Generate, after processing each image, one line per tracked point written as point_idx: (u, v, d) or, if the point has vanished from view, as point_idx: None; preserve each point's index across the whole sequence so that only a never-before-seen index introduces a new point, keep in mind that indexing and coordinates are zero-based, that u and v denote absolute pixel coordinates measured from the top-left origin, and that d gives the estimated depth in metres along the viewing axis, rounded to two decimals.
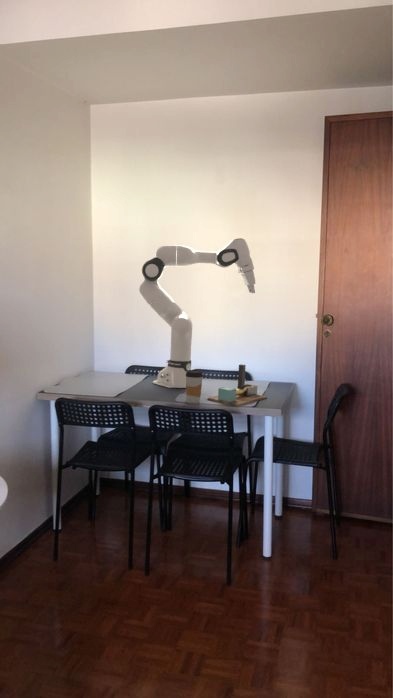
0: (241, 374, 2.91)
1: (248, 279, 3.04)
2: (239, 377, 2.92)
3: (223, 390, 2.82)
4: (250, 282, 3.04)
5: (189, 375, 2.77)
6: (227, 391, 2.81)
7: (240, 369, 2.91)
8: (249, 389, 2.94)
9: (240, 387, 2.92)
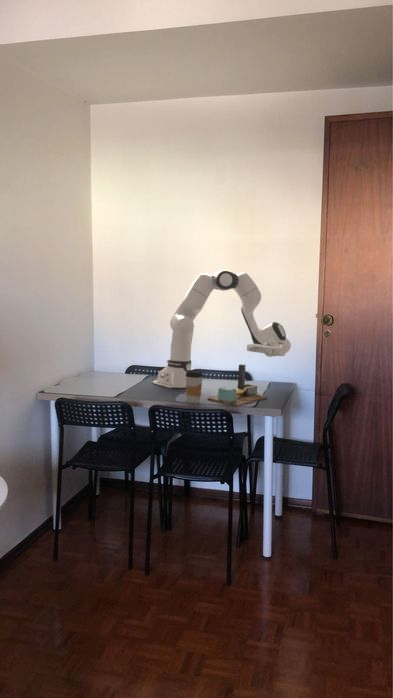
0: (241, 374, 2.91)
1: (282, 348, 3.02)
2: (239, 377, 2.92)
3: (223, 390, 2.82)
4: (280, 350, 3.00)
5: (189, 375, 2.77)
6: (227, 391, 2.81)
7: (240, 369, 2.91)
8: (249, 389, 2.94)
9: (240, 387, 2.92)
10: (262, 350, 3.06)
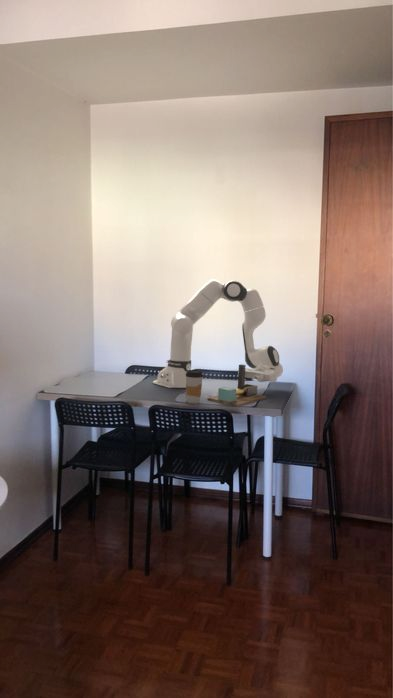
0: (241, 374, 2.91)
1: (273, 374, 2.98)
2: (239, 377, 2.92)
3: (223, 390, 2.82)
4: (271, 376, 2.97)
5: (189, 375, 2.77)
6: (227, 391, 2.81)
7: (240, 369, 2.91)
8: (249, 389, 2.94)
9: (240, 387, 2.92)
10: (253, 375, 3.02)
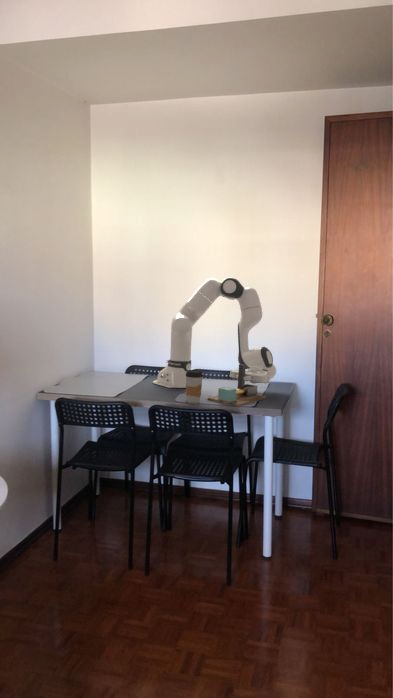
0: (241, 374, 2.91)
1: (266, 376, 2.92)
2: (239, 377, 2.92)
3: (223, 390, 2.82)
4: (264, 378, 2.91)
5: (189, 375, 2.77)
6: (227, 391, 2.81)
7: (240, 369, 2.91)
8: (249, 389, 2.94)
9: (240, 387, 2.92)
10: None
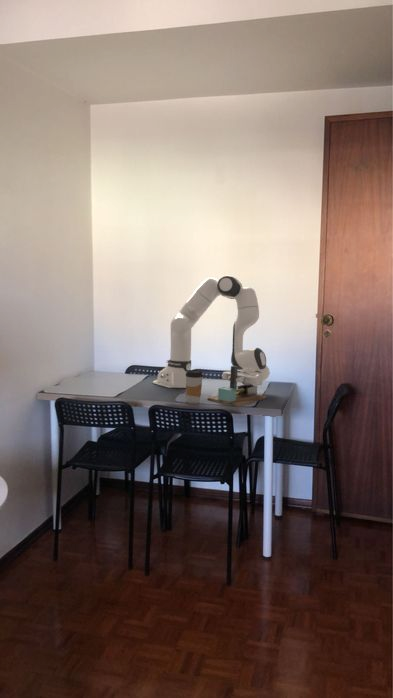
0: (233, 376, 2.86)
1: (258, 378, 2.87)
2: (231, 379, 2.87)
3: (223, 390, 2.82)
4: (256, 379, 2.85)
5: (189, 375, 2.77)
6: (227, 391, 2.81)
7: (232, 371, 2.86)
8: (249, 389, 2.94)
9: None
10: None
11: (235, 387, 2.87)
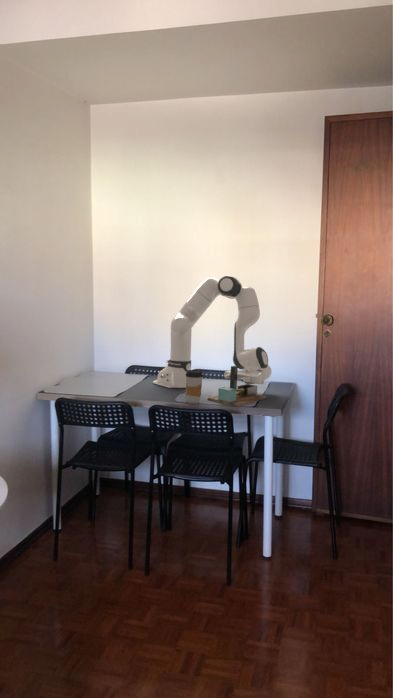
0: (233, 376, 2.86)
1: (260, 377, 2.88)
2: (231, 379, 2.87)
3: (223, 390, 2.82)
4: (258, 378, 2.87)
5: (189, 375, 2.77)
6: (227, 391, 2.81)
7: (232, 371, 2.86)
8: (249, 389, 2.94)
9: None
10: (240, 378, 2.92)
11: (235, 387, 2.87)
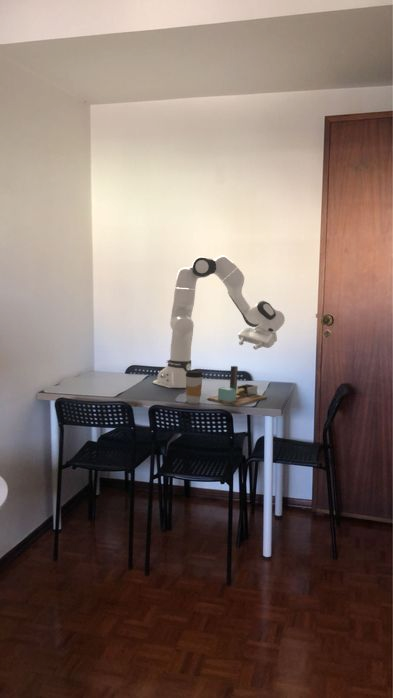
0: (233, 376, 2.86)
1: (271, 340, 2.98)
2: (231, 379, 2.87)
3: (223, 390, 2.82)
4: (269, 343, 2.97)
5: (189, 375, 2.77)
6: (227, 391, 2.81)
7: (232, 371, 2.86)
8: (249, 389, 2.94)
9: None
10: (253, 341, 3.04)
11: (235, 387, 2.87)
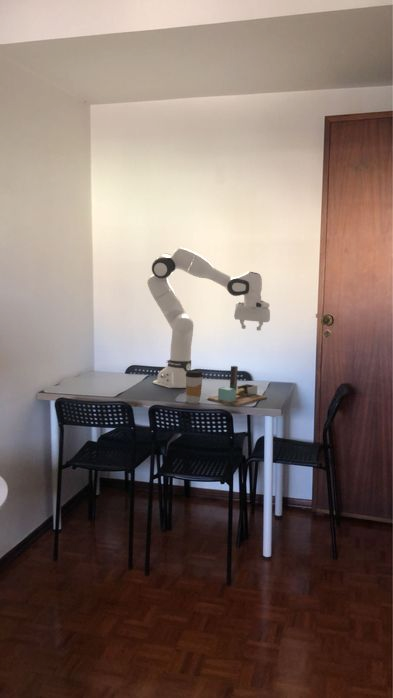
0: (233, 376, 2.86)
1: (266, 316, 3.00)
2: (231, 379, 2.87)
3: (223, 390, 2.82)
4: (267, 319, 3.00)
5: (189, 375, 2.77)
6: (227, 391, 2.81)
7: (232, 371, 2.86)
8: (249, 389, 2.94)
9: None
10: None
11: (235, 387, 2.87)
